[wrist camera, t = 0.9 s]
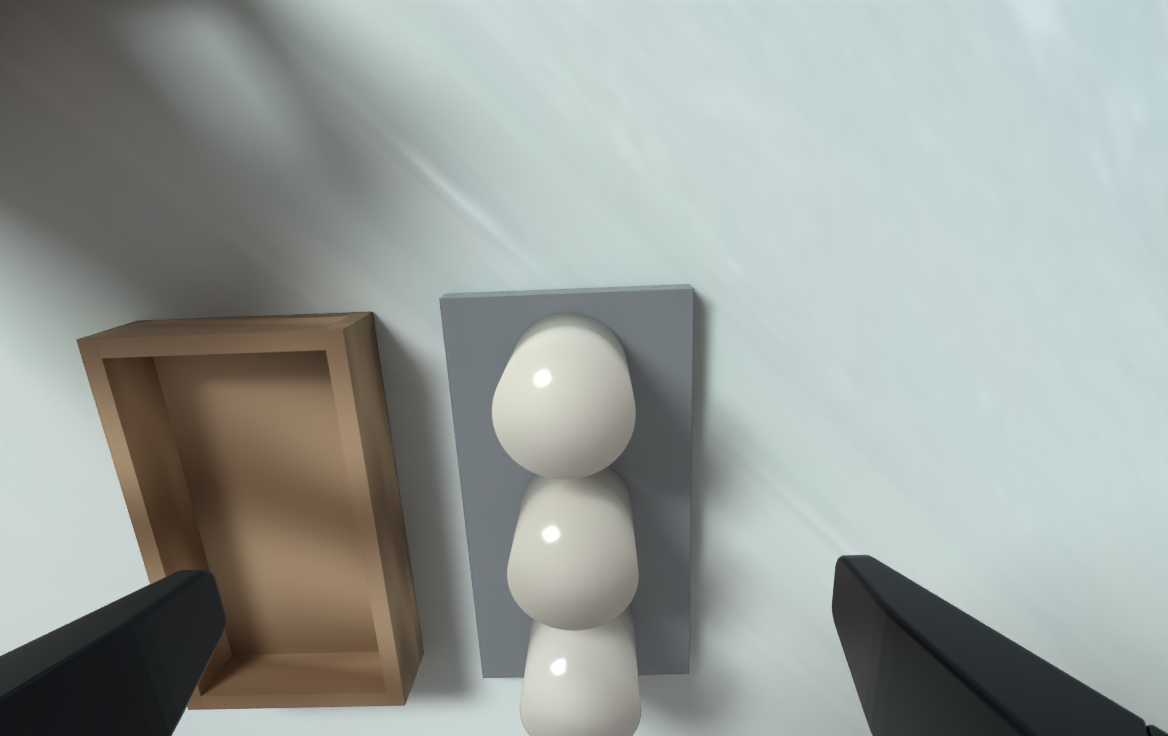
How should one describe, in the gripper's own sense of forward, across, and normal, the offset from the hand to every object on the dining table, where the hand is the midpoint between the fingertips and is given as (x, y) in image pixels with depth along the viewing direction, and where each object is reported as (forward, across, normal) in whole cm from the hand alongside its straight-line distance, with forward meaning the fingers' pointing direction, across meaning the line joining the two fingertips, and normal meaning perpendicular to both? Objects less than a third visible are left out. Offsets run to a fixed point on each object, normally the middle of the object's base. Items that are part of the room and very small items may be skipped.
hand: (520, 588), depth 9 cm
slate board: (+12, 0, +6) cm, 13 cm away
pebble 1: (+12, 0, 0) cm, 12 cm away
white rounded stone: (+11, 0, +10) cm, 15 cm away
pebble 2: (+12, 0, +6) cm, 13 cm away
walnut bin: (+12, +10, +6) cm, 17 cm away
